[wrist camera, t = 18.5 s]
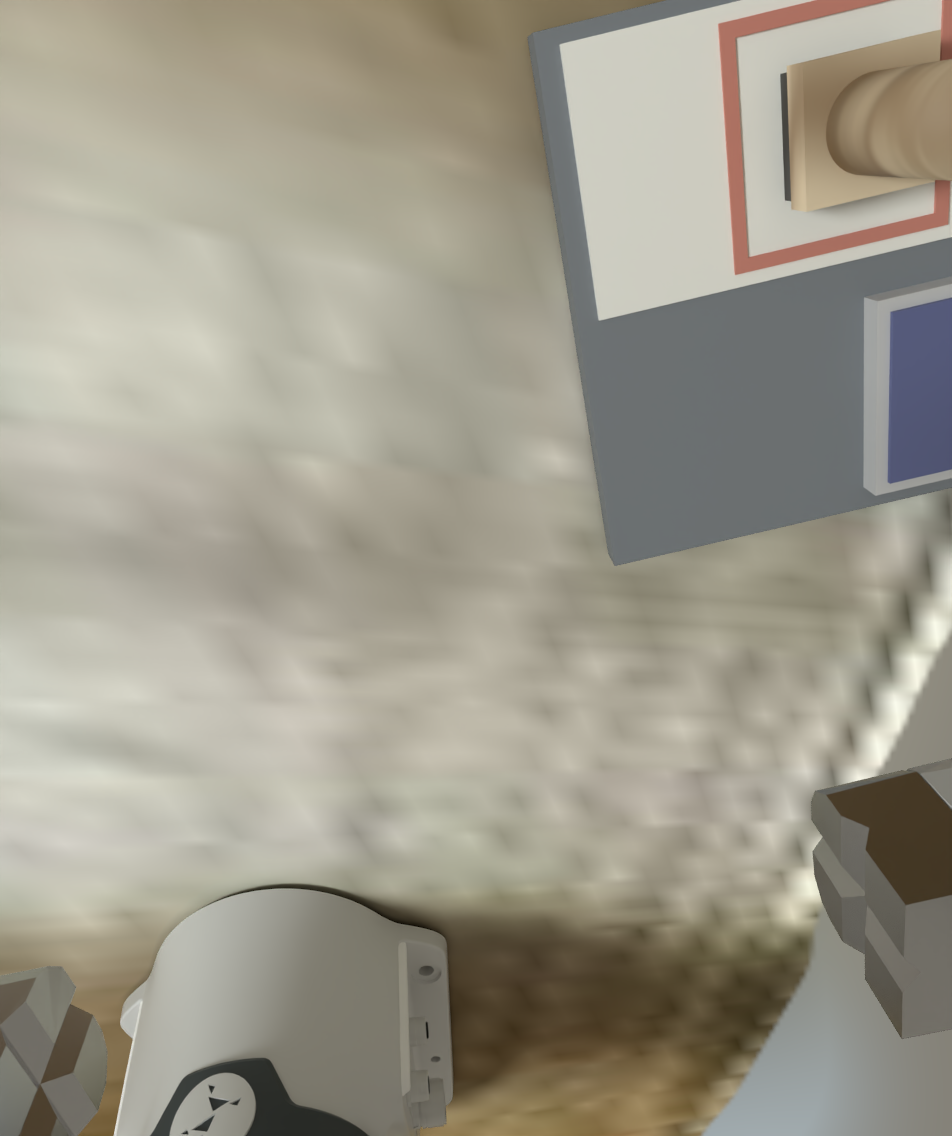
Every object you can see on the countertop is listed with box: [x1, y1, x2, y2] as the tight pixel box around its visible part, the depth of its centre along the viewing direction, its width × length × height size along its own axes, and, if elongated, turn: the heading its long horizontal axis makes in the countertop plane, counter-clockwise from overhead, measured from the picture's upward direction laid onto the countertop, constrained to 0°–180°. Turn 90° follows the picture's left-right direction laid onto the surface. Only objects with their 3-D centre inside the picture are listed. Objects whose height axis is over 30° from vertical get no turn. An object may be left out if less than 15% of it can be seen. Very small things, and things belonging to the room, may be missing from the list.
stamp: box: [780, 30, 952, 212], centre depth 25 cm, size 4×4×8 cm
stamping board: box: [528, 0, 952, 566], centre depth 32 cm, size 20×20×2 cm
